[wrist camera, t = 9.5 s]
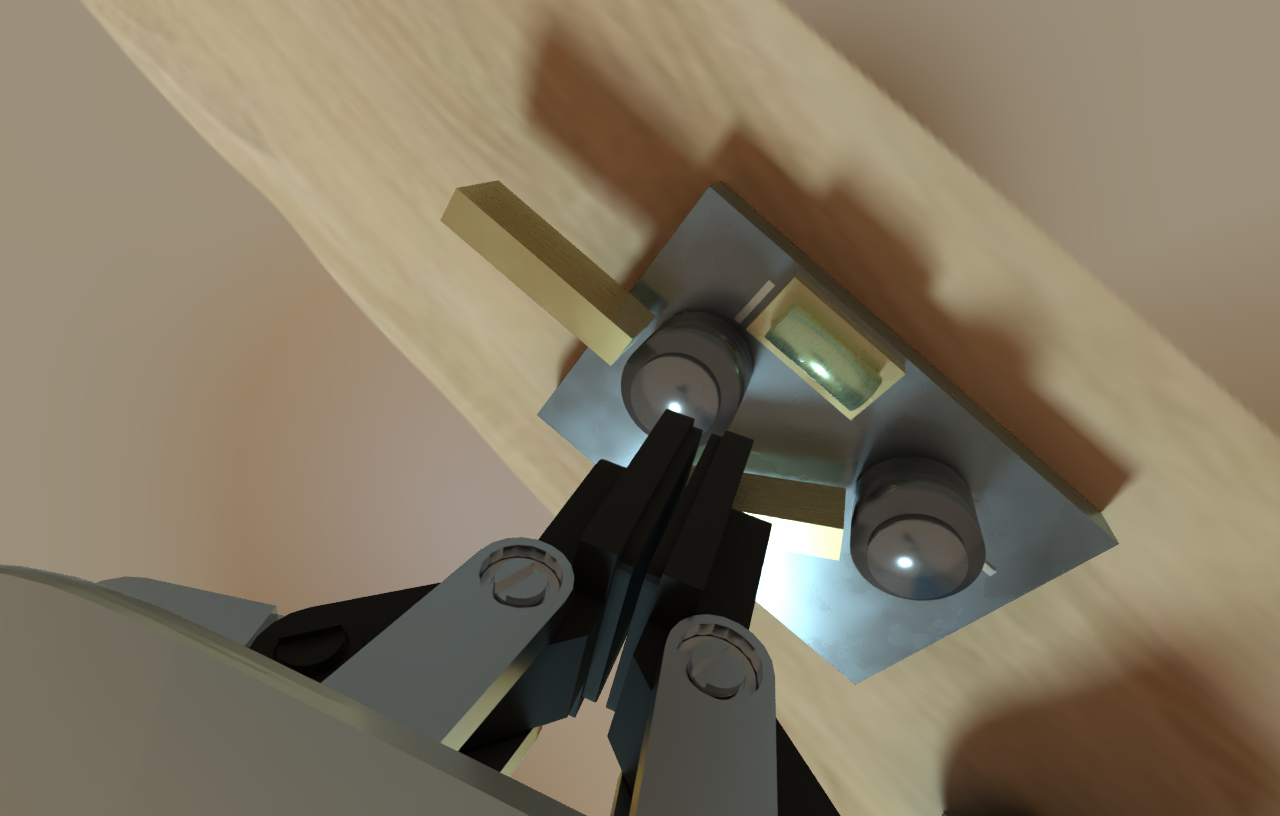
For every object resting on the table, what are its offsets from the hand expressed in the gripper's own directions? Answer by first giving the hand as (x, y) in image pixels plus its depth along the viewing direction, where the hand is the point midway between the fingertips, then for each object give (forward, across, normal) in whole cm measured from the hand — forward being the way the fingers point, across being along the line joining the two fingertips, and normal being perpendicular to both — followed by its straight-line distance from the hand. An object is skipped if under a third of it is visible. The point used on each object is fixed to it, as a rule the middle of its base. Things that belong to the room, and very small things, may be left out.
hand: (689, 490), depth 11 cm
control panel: (+15, -3, +7) cm, 17 cm away
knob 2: (+13, -3, +7) cm, 15 cm away
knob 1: (+13, +6, +2) cm, 15 cm away
